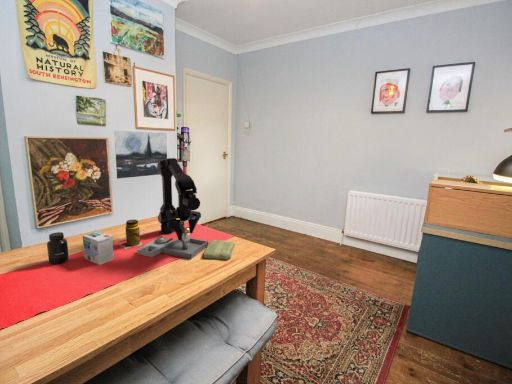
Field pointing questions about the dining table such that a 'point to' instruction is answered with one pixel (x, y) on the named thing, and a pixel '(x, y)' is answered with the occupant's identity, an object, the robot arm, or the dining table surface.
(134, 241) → the condiment
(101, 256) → the light bulb box
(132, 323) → the dining table surface
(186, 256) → the tray
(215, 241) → the washcloth
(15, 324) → the dining table surface
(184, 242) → the lock pin
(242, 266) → the dining table surface
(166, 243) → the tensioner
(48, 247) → the supplement bottle
